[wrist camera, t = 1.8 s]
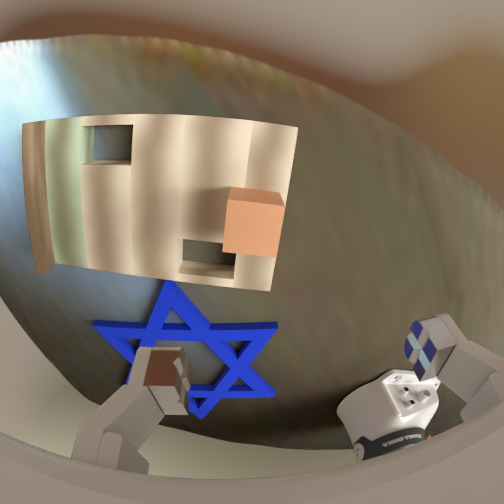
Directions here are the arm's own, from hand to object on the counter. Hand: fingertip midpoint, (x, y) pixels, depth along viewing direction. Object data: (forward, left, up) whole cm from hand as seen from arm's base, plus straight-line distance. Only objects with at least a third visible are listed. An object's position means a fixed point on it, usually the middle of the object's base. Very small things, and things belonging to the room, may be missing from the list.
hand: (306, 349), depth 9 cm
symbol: (+8, +26, -23) cm, 36 cm away
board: (+11, +2, -22) cm, 25 cm away
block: (+1, +2, -19) cm, 19 cm away
